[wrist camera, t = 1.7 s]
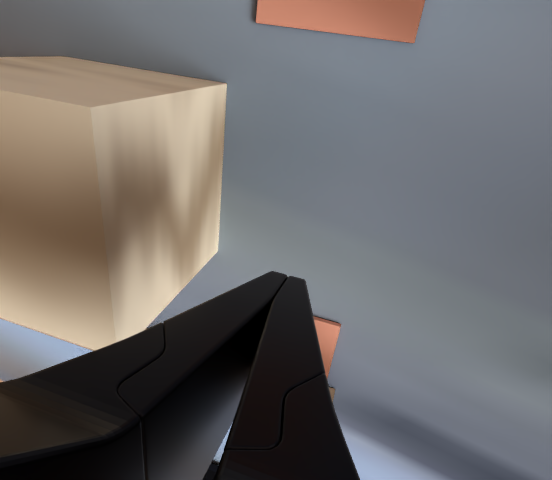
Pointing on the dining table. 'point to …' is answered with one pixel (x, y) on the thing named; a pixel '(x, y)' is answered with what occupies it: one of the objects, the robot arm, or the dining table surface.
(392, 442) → the dining table surface
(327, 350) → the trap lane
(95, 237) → the maple block
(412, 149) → the dining table surface
